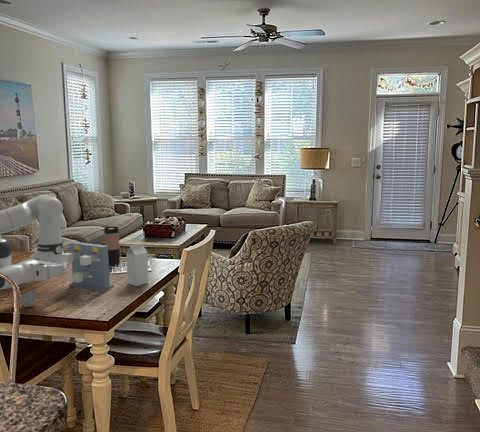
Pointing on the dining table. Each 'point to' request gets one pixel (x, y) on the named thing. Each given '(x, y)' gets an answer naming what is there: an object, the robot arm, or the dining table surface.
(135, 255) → the milk carton
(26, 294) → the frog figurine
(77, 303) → the dining table surface
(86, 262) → the button top right
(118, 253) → the travel mug
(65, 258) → the button top left
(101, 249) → the panel
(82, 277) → the button bottom
